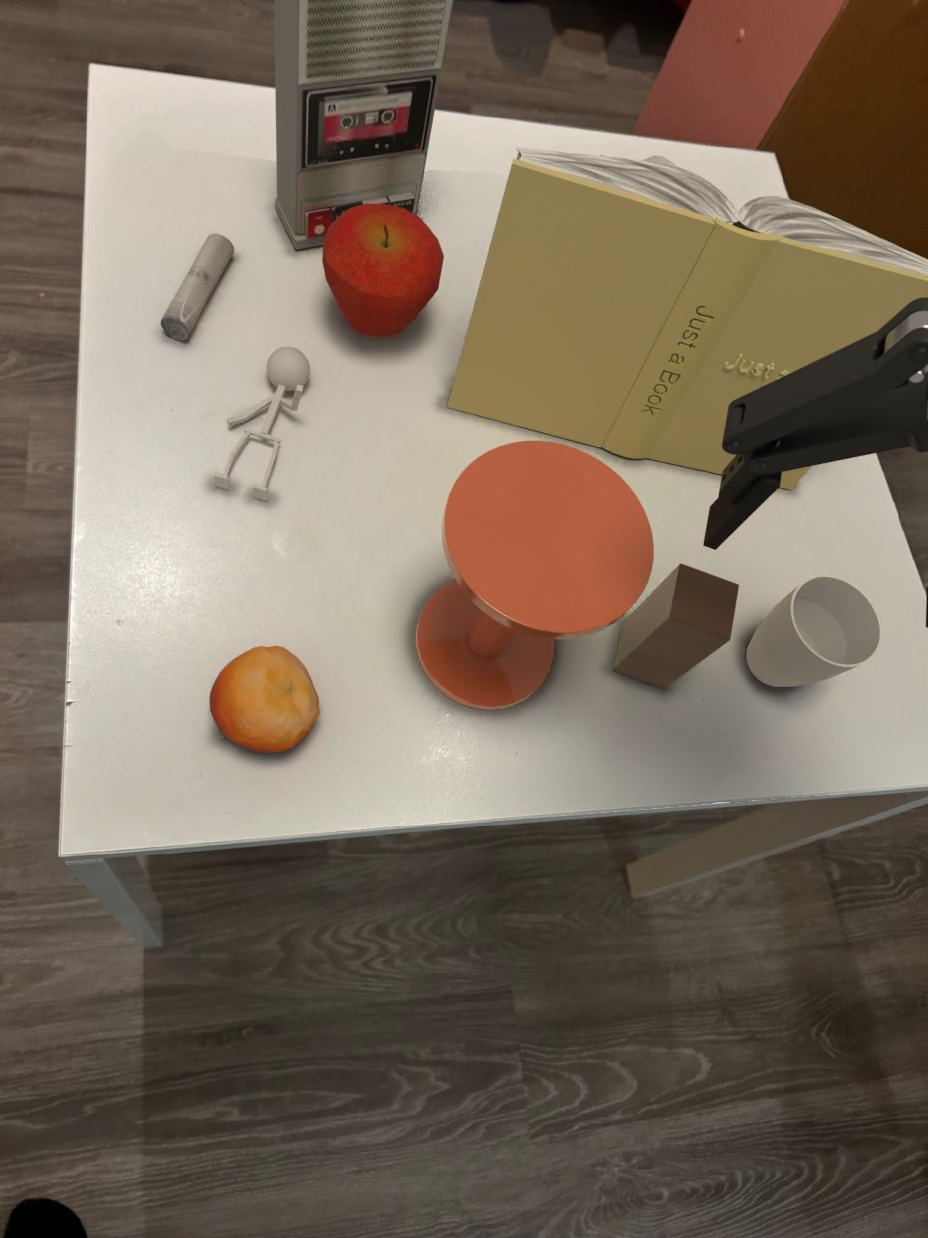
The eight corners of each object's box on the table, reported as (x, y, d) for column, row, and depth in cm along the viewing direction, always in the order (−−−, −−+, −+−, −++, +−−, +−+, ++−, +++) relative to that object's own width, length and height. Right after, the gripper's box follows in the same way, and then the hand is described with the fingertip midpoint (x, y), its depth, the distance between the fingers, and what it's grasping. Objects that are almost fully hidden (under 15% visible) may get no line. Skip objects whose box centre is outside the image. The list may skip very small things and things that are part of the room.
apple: (360, 383, 79) (372, 289, 68) (297, 306, 81) (298, 202, 70) (449, 340, 83) (474, 245, 72) (387, 267, 85) (402, 164, 74)
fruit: (186, 662, 63) (237, 627, 58) (276, 675, 69) (330, 644, 63) (185, 765, 60) (238, 738, 55) (279, 770, 66) (336, 746, 60)
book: (444, 414, 79) (511, 169, 58) (453, 361, 83) (519, 114, 63) (791, 498, 83) (966, 298, 63) (783, 443, 88) (945, 239, 67)
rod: (209, 249, 81) (206, 227, 79) (235, 259, 82) (234, 237, 79) (160, 336, 76) (156, 315, 74) (189, 346, 77) (186, 325, 74)
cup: (808, 628, 78) (876, 583, 69) (815, 709, 75) (887, 673, 66) (728, 614, 77) (787, 567, 68) (732, 696, 73) (794, 658, 64)
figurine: (196, 453, 67) (255, 310, 72) (205, 488, 72) (259, 353, 78) (270, 476, 67) (324, 332, 72) (273, 508, 73) (323, 373, 78)
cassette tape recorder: (296, 253, 83) (299, -12, 61) (275, 210, 85) (270, -64, 62) (419, 230, 88) (464, -24, 65) (396, 189, 90) (433, -72, 67)
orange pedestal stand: (540, 744, 68) (631, 663, 50) (381, 688, 67) (415, 586, 49) (577, 601, 74) (671, 483, 56) (431, 548, 73) (479, 411, 55)
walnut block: (664, 689, 72) (730, 640, 61) (611, 670, 72) (669, 618, 61) (673, 640, 74) (739, 584, 64) (623, 621, 74) (680, 562, 63)
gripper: (1493, 334, 30) (1019, 586, 49) (869, 76, 28) (630, 441, 47) (1559, 498, 26) (1023, 700, 45) (856, 217, 25) (605, 548, 44)
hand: (822, 569), depth 46 cm, fingers open, 13 cm apart
